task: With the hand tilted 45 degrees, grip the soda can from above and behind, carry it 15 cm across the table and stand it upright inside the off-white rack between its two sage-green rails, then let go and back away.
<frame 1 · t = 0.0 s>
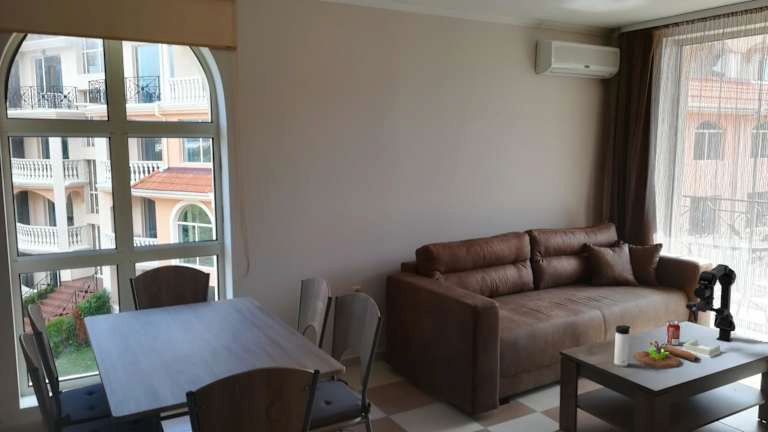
hand: (705, 324, 306), 15 cm above the table, tool pointing down, fingers open, 9 cm apart
sunglasses case: (681, 357, 302), on the table
soda can: (672, 344, 319), on the table
plant: (656, 362, 294), on the table
travel mug: (621, 365, 290), on the table
can rack: (701, 351, 308), on the table
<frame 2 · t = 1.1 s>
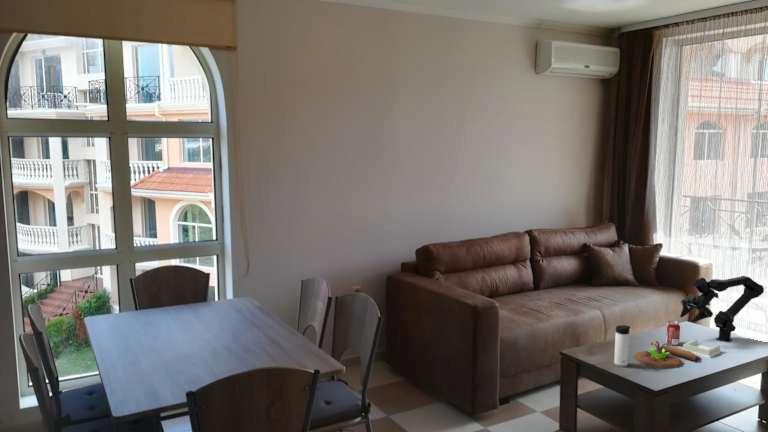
hand: (686, 319, 319), 13 cm above the table, tool tilted 45°, fingers open, 9 cm apart
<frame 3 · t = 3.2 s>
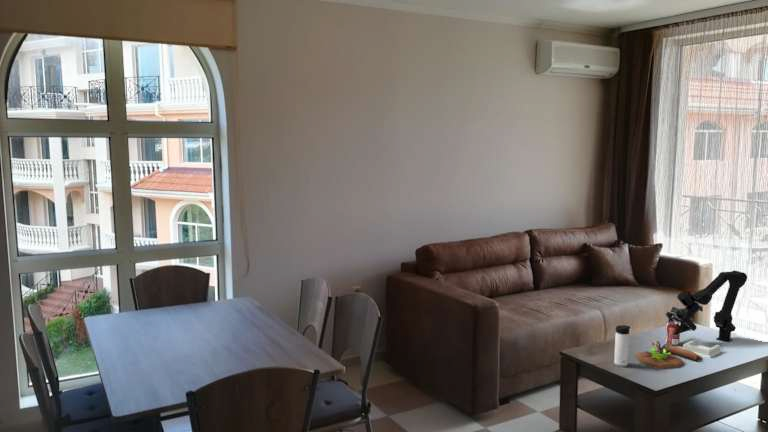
hand: (670, 332, 318), 7 cm above the table, tool tilted 45°, fingers closed on soda can, 6 cm apart
sunglasses case: (683, 356, 303), on the table
soda can: (672, 344, 319), on the table, touching gripper
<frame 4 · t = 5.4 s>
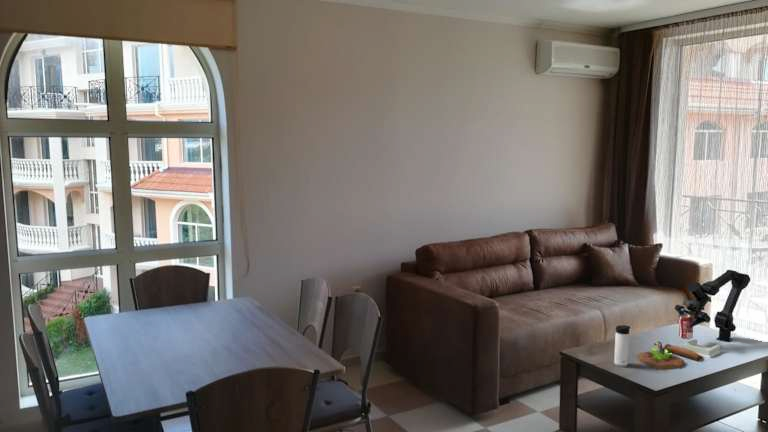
hand: (683, 325, 312), 12 cm above the table, tool tilted 45°, fingers closed on soda can, 6 cm apart
sunglasses case: (684, 355, 303), on the table
soda can: (685, 338, 313), point 5 cm above the table, touching gripper
when the fingers open (9 cm above the table, at t = 7.5 s): soda can stays where it is, resting on can rack.
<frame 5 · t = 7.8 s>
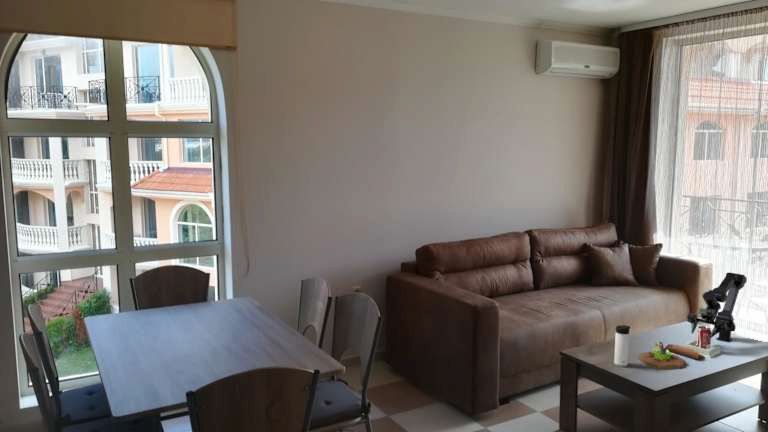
hand: (701, 335, 306), 9 cm above the table, tool tilted 45°, fingers open, 9 cm apart
sunglasses case: (685, 355, 304), on the table
soda can: (702, 350, 308), point 1 cm above the table, touching can rack
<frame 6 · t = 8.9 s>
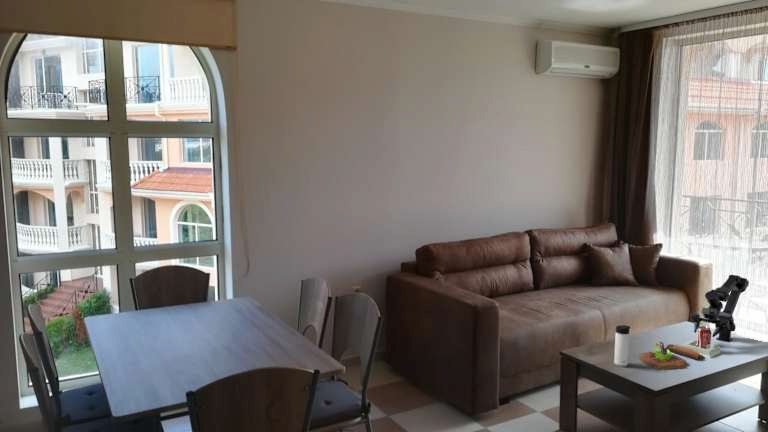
hand: (703, 334, 308), 9 cm above the table, tool tilted 45°, fingers open, 9 cm apart
sunglasses case: (685, 355, 304), on the table, touching can rack
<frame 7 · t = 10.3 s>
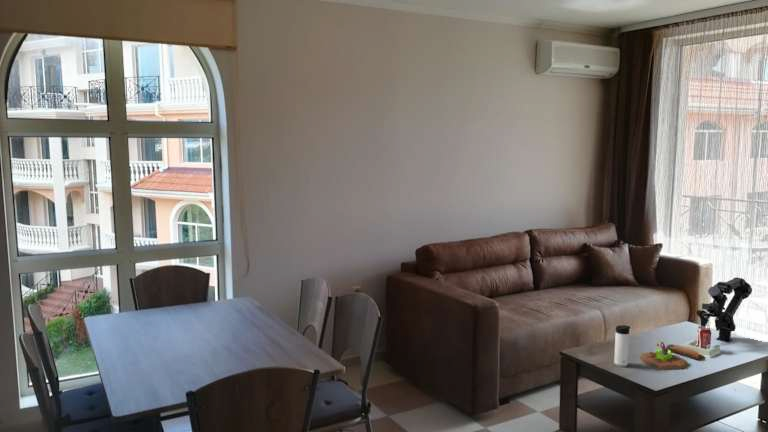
hand: (709, 329, 313), 10 cm above the table, tool tilted 35°, fingers open, 9 cm apart
sunglasses case: (685, 355, 304), on the table
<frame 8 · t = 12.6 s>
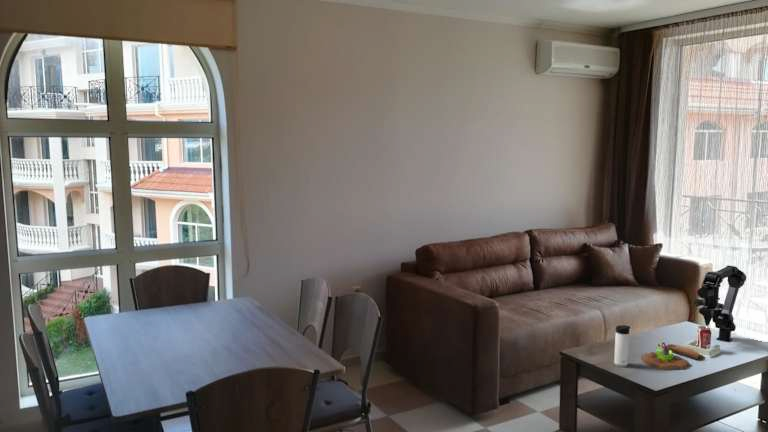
hand: (710, 323, 316), 12 cm above the table, tool pointing down, fingers open, 9 cm apart
at the end: soda can 0.6 cm off-centre on the can rack, point 0.8 cm above the can rack's base; soda can tilted 0°; the gripper is holding nothing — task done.
